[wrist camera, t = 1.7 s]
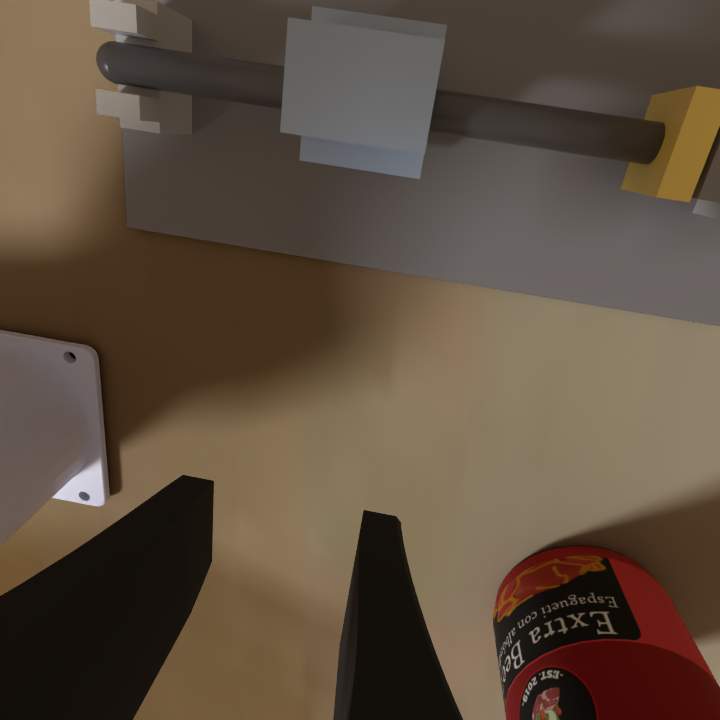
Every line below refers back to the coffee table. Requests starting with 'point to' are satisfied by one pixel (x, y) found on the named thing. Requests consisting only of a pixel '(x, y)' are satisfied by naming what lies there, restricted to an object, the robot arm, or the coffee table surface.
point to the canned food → (596, 643)
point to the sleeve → (361, 89)
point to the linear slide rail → (445, 145)
